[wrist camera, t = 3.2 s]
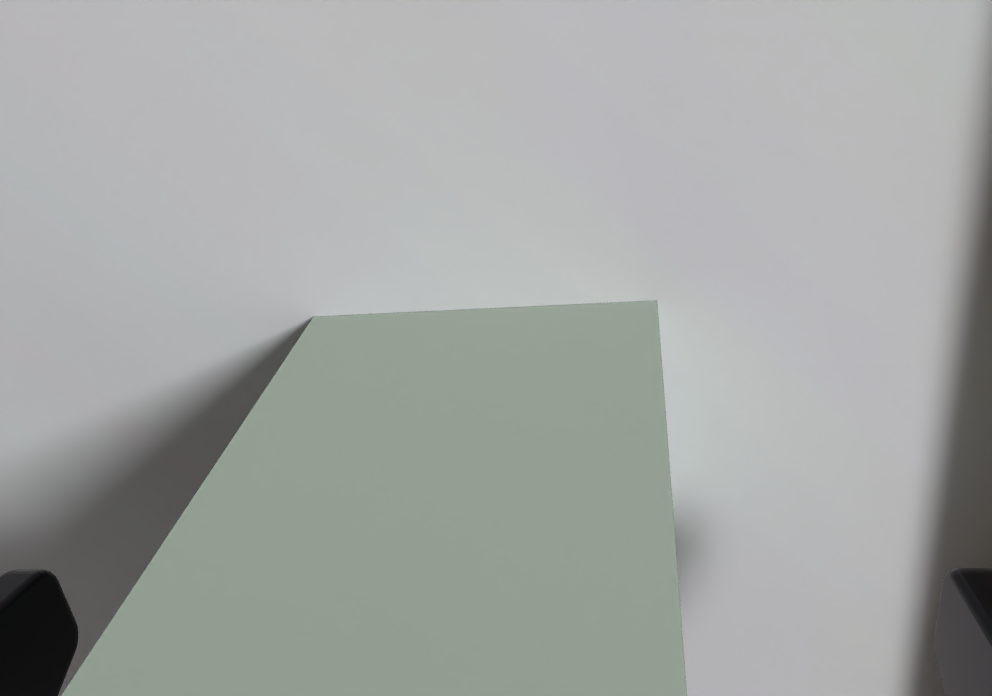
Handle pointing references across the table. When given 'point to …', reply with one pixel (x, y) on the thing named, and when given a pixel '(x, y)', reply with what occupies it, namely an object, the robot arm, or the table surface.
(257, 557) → the block
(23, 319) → the table surface
